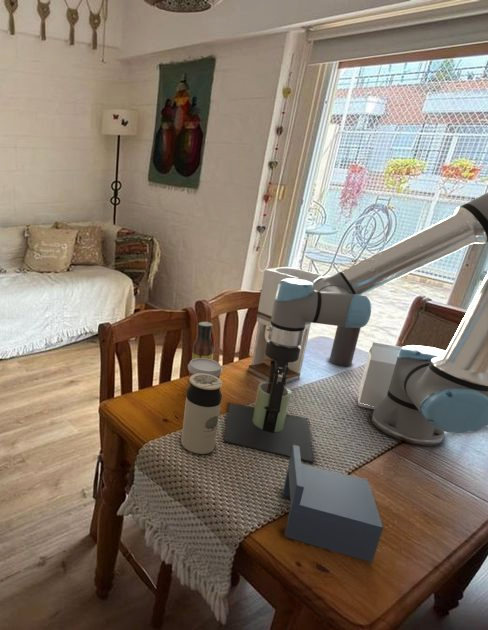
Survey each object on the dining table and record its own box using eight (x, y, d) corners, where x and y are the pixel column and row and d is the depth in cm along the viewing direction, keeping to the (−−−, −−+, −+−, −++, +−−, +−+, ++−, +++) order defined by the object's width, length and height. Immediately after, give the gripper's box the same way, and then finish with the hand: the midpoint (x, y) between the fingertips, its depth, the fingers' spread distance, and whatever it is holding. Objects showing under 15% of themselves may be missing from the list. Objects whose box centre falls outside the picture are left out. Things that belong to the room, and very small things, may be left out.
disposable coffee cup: (213, 394, 133) (218, 358, 129) (220, 410, 124) (226, 372, 120) (181, 392, 134) (185, 356, 130) (186, 408, 125) (191, 371, 121)
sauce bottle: (212, 380, 141) (220, 323, 134) (207, 388, 136) (215, 329, 129) (192, 375, 144) (199, 318, 138) (186, 383, 139) (193, 324, 133)
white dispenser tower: (248, 370, 149) (264, 269, 137) (270, 364, 153) (288, 266, 141) (275, 384, 139) (296, 277, 127) (299, 378, 143) (321, 274, 131)
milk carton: (387, 413, 124) (405, 351, 118) (358, 406, 127) (374, 346, 121) (385, 402, 130) (402, 343, 123) (357, 395, 133) (372, 337, 127)
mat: (306, 419, 120) (306, 418, 120) (313, 463, 103) (313, 461, 103) (229, 403, 128) (229, 402, 127) (224, 441, 110) (224, 440, 110)
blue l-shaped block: (358, 511, 89) (373, 462, 85) (372, 562, 77) (389, 509, 73) (282, 491, 94) (292, 444, 90) (284, 537, 82) (296, 485, 78)
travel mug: (175, 437, 112) (182, 374, 106) (203, 433, 113) (212, 371, 107) (190, 457, 104) (199, 390, 98) (220, 452, 106) (230, 386, 100)
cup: (283, 419, 117) (290, 385, 113) (284, 434, 110) (291, 399, 107) (252, 412, 119) (258, 379, 116) (251, 427, 113) (258, 392, 109)
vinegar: (349, 360, 157) (363, 307, 150) (352, 368, 151) (366, 313, 144) (328, 357, 159) (340, 304, 153) (330, 364, 153) (342, 310, 147)
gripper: (267, 326, 117) (253, 400, 125) (267, 355, 99) (251, 440, 107) (298, 330, 114) (282, 406, 122) (304, 361, 97) (285, 448, 104)
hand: (268, 422), depth 114 cm, fingers closed on cup, 8 cm apart
